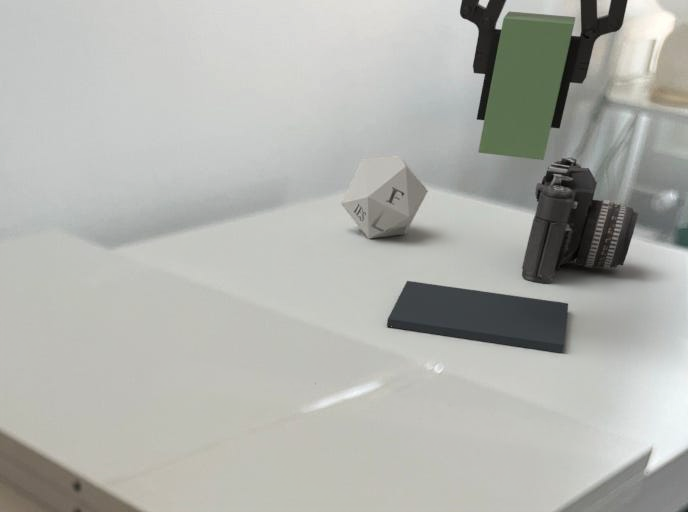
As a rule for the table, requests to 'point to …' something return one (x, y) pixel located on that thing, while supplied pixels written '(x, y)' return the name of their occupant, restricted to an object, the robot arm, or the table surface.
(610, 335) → the table surface
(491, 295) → the mat
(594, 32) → the robot arm
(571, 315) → the table surface
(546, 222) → the camera
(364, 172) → the die
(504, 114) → the green block
